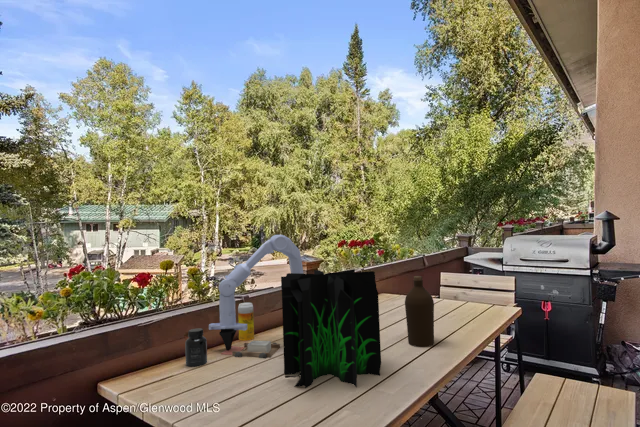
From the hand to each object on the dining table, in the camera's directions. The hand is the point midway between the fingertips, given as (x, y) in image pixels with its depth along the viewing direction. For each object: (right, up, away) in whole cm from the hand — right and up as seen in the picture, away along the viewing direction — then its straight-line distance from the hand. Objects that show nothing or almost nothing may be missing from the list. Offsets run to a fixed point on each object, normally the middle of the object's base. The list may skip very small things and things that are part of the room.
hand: (228, 349), depth 137 cm
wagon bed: (+11, -1, -3) cm, 11 cm away
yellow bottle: (+4, -2, +15) cm, 16 cm away
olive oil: (+72, +1, +4) cm, 72 cm away
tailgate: (+5, -1, -1) cm, 5 cm away
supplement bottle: (-8, -1, -12) cm, 14 cm away
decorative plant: (+38, +1, -20) cm, 43 cm away
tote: (+12, 0, -3) cm, 12 cm away
